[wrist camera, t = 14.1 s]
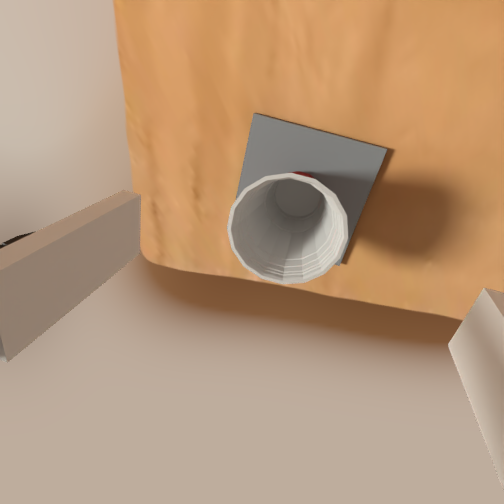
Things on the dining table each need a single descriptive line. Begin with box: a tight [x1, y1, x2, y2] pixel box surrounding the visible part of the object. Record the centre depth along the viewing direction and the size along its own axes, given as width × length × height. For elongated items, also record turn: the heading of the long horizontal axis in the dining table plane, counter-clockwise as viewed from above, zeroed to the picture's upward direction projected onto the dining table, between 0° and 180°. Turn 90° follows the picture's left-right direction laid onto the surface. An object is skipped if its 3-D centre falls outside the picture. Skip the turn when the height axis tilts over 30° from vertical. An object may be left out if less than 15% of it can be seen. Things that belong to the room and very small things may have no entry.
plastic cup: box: [227, 171, 348, 284], centre depth 35 cm, size 11×11×12 cm
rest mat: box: [236, 113, 387, 266], centre depth 40 cm, size 15×15×1 cm
